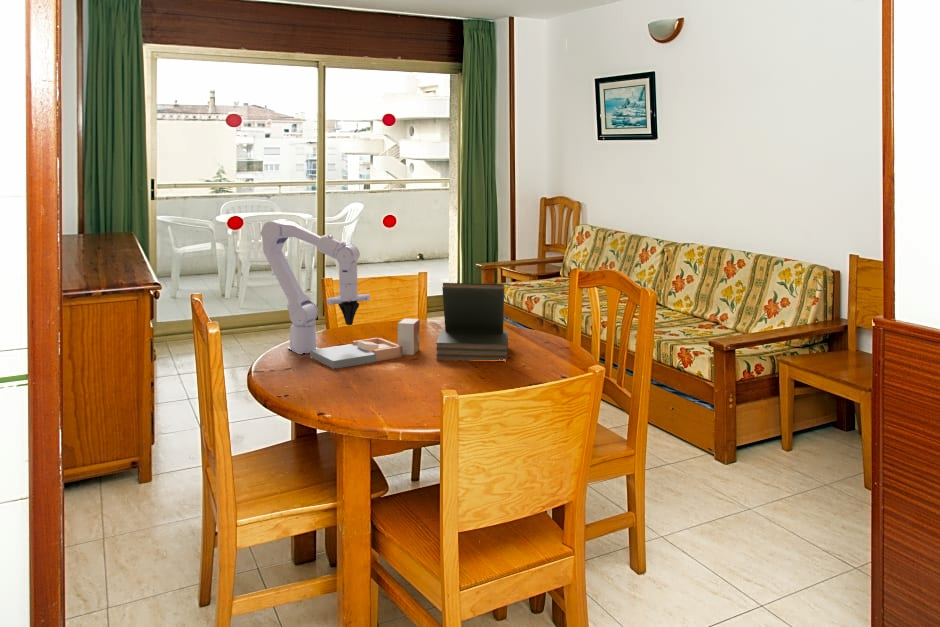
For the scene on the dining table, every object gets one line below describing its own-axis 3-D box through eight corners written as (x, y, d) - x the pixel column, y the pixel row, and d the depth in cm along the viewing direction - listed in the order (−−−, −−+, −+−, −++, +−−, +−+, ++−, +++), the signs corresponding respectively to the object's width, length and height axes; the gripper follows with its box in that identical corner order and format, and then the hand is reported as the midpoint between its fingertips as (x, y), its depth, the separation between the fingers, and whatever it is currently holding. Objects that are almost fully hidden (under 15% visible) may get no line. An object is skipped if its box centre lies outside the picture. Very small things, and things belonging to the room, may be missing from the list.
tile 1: (357, 347, 258) (357, 341, 258) (370, 347, 261) (371, 341, 261) (364, 350, 254) (365, 344, 254) (377, 351, 257) (378, 345, 257)
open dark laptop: (507, 348, 272) (509, 276, 267) (507, 363, 252) (509, 286, 247) (440, 346, 273) (441, 274, 268) (435, 361, 254) (436, 284, 248)
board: (310, 357, 254) (310, 350, 254) (351, 351, 263) (351, 343, 263) (333, 368, 242) (333, 361, 241) (376, 361, 251) (376, 354, 250)
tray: (352, 351, 263) (352, 341, 262) (378, 347, 269) (378, 337, 268) (375, 361, 251) (375, 350, 250) (402, 356, 257) (402, 346, 256)
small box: (413, 355, 259) (413, 323, 257) (397, 354, 260) (397, 323, 258) (419, 349, 267) (420, 318, 265) (403, 348, 268) (403, 318, 266)
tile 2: (371, 351, 261) (371, 345, 261) (384, 349, 264) (384, 343, 263) (378, 354, 257) (378, 348, 257) (392, 352, 260) (392, 346, 260)
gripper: (333, 286, 247) (334, 329, 250) (374, 282, 256) (374, 324, 259) (323, 283, 253) (324, 325, 256) (363, 279, 261) (364, 320, 264)
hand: (349, 324), depth 257 cm, fingers closed
